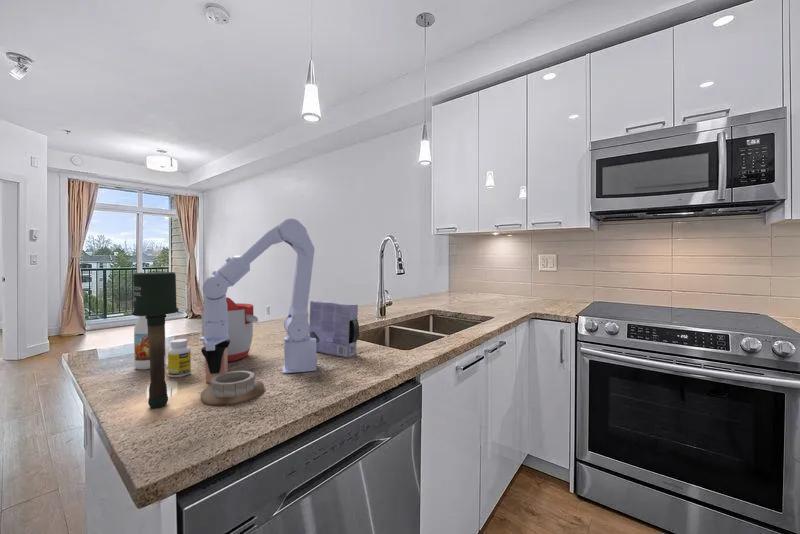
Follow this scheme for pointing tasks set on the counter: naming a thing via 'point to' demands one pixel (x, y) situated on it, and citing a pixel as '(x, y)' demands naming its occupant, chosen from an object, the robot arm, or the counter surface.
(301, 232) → the robot arm
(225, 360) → the peg
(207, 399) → the collar
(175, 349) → the supplement bottle
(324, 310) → the cake pan box
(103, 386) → the counter surface
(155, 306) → the potato masher grenade
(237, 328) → the citrus juicer
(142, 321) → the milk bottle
